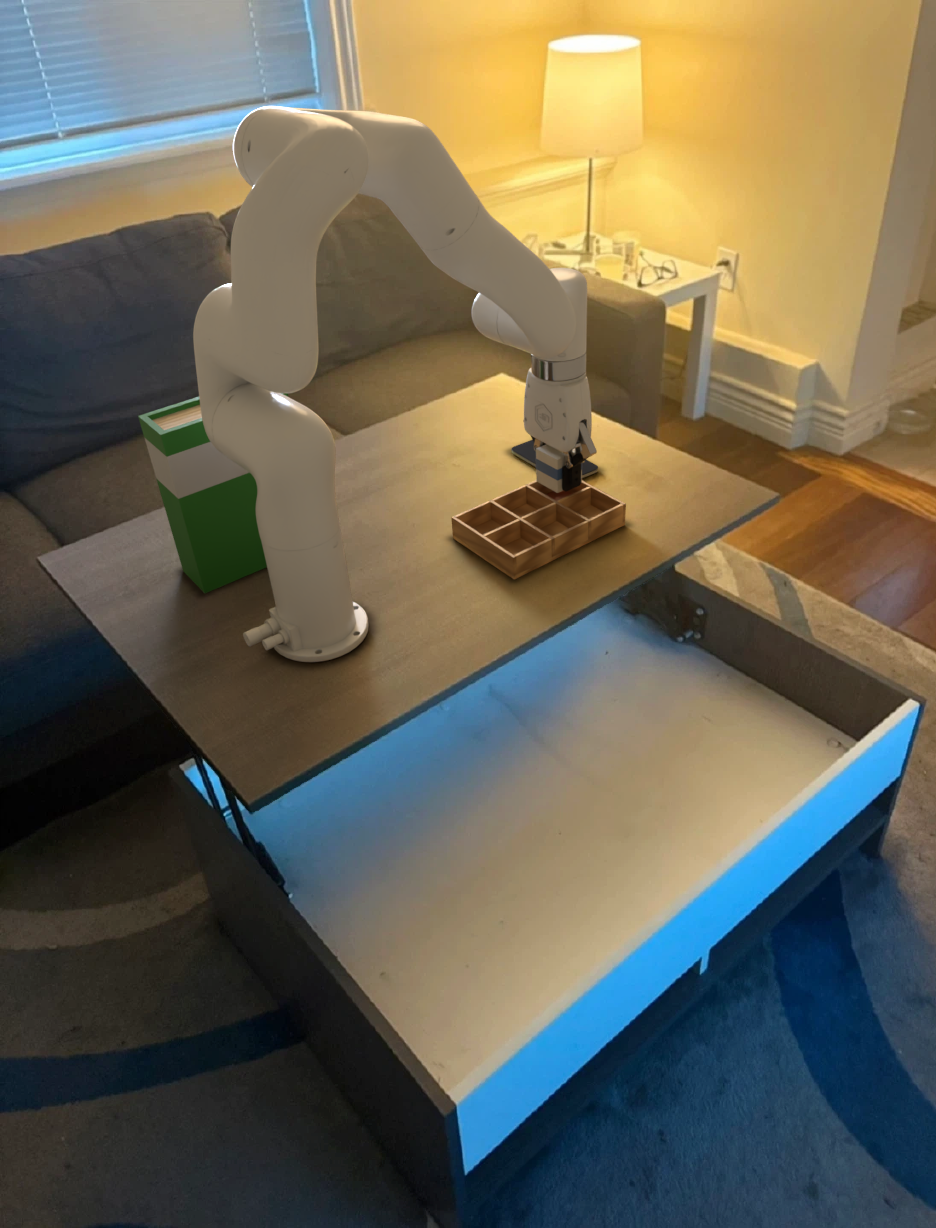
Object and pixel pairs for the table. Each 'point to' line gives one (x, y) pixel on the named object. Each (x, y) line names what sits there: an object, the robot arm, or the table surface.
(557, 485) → the milk carton
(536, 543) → the compartment tray
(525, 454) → the smartphone
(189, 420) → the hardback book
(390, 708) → the table surface
